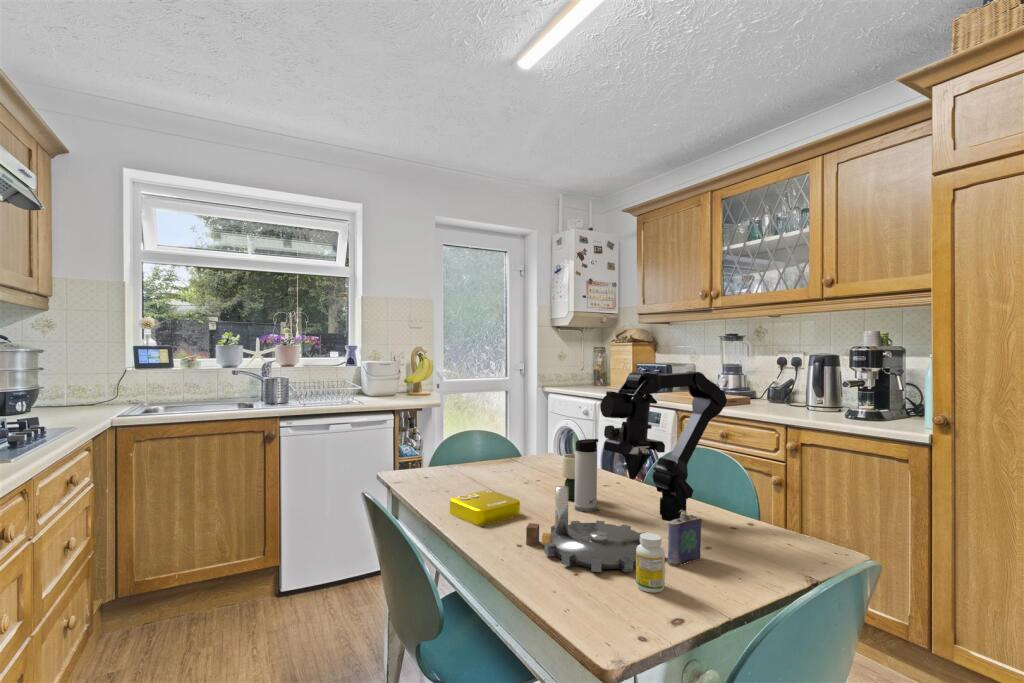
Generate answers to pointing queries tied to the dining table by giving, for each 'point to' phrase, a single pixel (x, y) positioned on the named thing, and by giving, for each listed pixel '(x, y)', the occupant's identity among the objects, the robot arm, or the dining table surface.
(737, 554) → the dining table surface
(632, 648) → the dining table surface
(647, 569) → the supplement bottle
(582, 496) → the travel mug
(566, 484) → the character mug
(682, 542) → the flask
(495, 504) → the element tile
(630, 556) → the sprocket
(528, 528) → the brown rectangular block
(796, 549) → the dining table surface
